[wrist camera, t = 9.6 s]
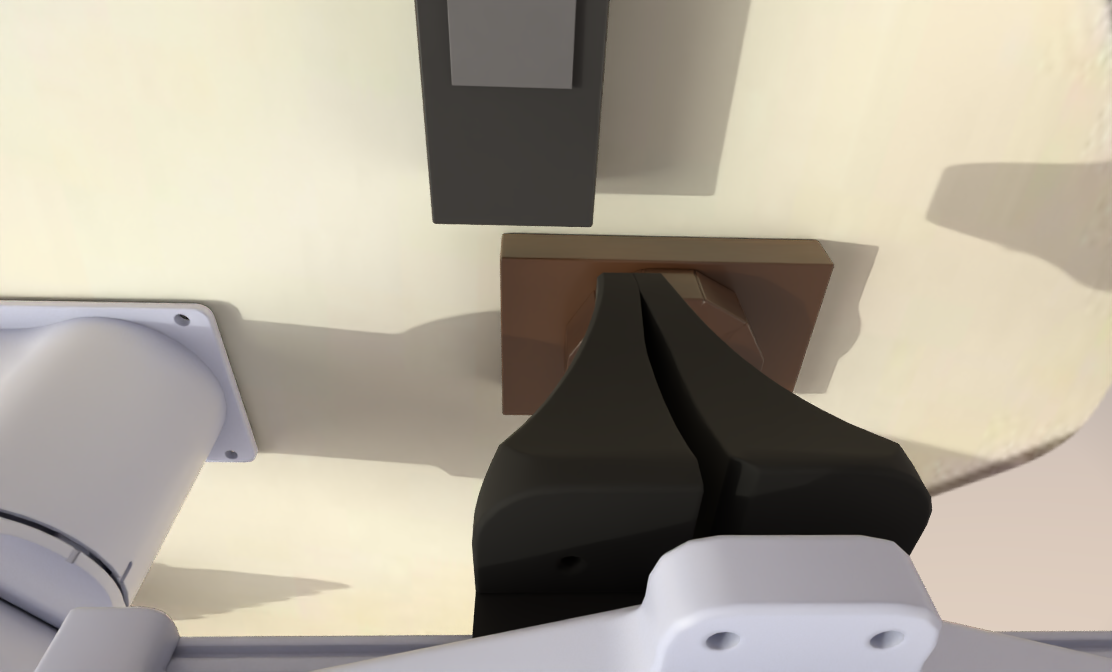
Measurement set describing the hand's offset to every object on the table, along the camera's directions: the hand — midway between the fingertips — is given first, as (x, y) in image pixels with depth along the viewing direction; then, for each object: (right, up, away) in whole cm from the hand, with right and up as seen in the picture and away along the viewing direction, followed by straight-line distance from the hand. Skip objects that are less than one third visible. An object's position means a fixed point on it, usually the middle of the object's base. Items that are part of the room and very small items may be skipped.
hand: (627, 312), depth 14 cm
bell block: (+2, 0, +11) cm, 11 cm away
